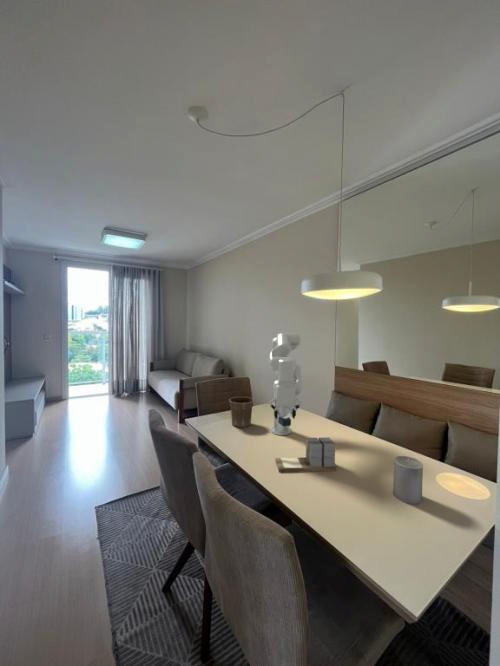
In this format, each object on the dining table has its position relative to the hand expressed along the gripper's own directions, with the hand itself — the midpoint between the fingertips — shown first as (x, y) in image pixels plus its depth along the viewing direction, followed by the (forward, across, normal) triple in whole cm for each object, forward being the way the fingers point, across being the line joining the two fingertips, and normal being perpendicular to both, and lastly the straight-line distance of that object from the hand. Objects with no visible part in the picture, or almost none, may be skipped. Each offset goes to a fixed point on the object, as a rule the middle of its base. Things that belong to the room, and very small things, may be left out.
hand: (284, 417), depth 144 cm
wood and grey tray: (+18, -7, +14) cm, 24 cm away
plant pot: (+18, +20, -41) cm, 49 cm away
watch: (+3, 0, 0) cm, 3 cm away
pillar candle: (+18, -40, +39) cm, 59 cm away
